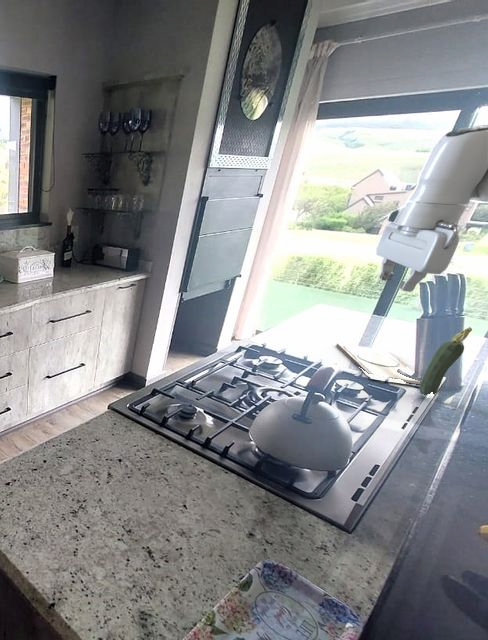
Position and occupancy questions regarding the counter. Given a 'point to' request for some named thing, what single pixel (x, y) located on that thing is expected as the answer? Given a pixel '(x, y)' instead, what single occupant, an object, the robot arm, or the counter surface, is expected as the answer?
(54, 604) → the counter surface
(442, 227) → the robot arm
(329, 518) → the counter surface
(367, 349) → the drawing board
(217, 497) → the counter surface
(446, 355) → the vegetable
